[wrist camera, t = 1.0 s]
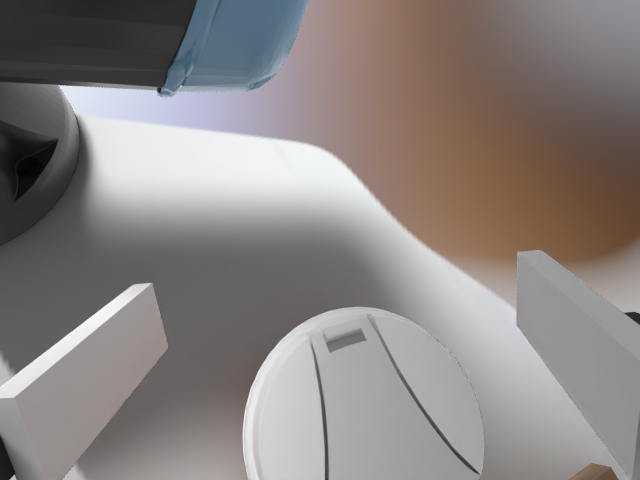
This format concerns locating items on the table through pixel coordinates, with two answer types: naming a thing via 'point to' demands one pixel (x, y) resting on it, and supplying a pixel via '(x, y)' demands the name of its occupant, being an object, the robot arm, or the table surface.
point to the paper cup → (362, 404)
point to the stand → (596, 473)
